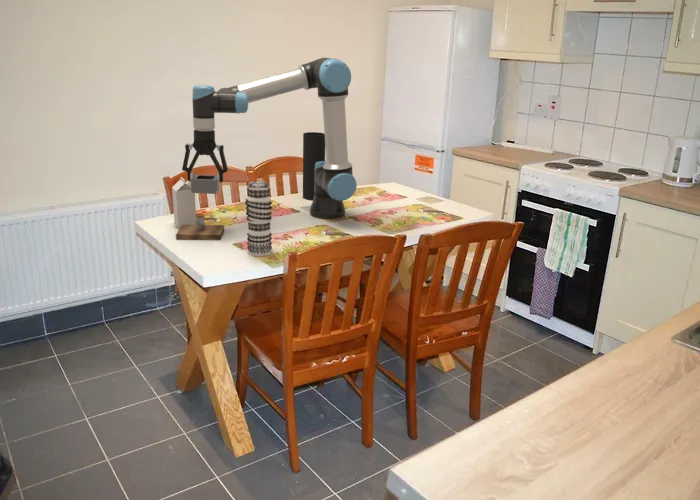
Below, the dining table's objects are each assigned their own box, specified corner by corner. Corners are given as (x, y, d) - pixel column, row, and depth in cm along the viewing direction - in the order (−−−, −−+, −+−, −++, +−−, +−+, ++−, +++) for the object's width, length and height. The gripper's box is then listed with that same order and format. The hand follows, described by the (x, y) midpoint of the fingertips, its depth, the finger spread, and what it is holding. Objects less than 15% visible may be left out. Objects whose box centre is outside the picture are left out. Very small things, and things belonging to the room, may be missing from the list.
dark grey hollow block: (219, 188, 232) (219, 175, 230) (216, 193, 223) (215, 180, 222) (195, 187, 231) (195, 174, 230) (191, 192, 223) (190, 179, 221)
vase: (302, 194, 292) (302, 132, 282) (323, 194, 293) (324, 132, 283) (303, 200, 282) (303, 135, 272) (324, 200, 283) (326, 135, 273)
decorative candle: (241, 254, 211) (239, 183, 203) (254, 246, 219) (253, 178, 211) (264, 258, 208) (263, 186, 200) (277, 250, 216) (276, 181, 208)
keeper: (224, 230, 236) (223, 210, 233) (220, 240, 224) (219, 219, 222) (182, 229, 234) (181, 209, 232) (176, 239, 223) (174, 218, 221)
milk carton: (178, 229, 235) (175, 181, 229) (174, 224, 241) (171, 177, 235) (196, 227, 238) (194, 179, 232) (192, 222, 244) (189, 175, 238)
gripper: (235, 129, 224) (236, 188, 232) (175, 126, 223) (178, 186, 230) (233, 132, 217) (233, 193, 224) (171, 129, 216) (174, 191, 223)
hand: (205, 189), depth 227 cm, fingers closed on dark grey hollow block, 9 cm apart
